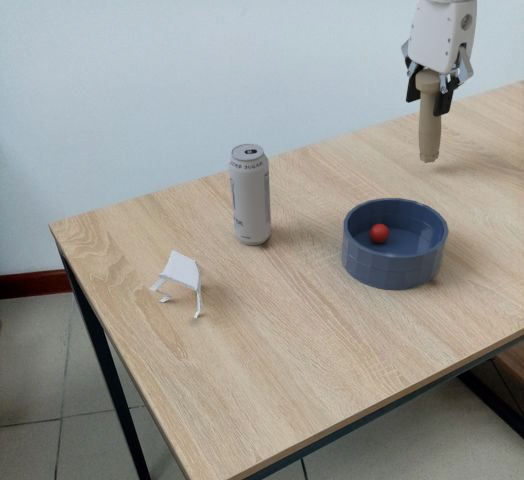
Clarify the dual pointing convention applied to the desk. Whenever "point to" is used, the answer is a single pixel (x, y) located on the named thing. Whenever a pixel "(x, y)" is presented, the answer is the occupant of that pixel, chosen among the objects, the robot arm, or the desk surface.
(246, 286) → the desk surface
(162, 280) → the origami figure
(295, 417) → the desk surface
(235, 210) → the energy drink can
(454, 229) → the desk surface
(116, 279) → the desk surface
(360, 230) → the bowl
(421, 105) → the handle
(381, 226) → the bead
